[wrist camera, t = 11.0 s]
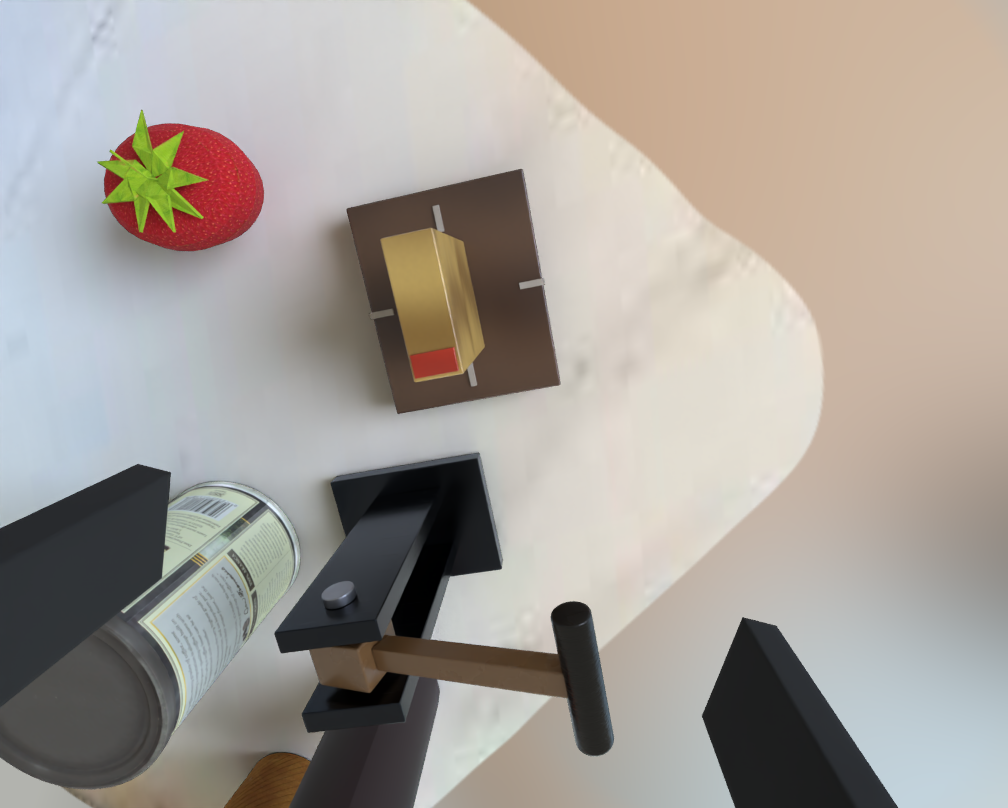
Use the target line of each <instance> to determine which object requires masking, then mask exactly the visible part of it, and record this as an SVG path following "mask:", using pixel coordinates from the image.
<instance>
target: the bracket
mask: <svg viewBox="0 0 1008 808" xmlns="http://www.w3.org/2000/svg"><path fill="white" fill-rule="evenodd" d="M331 487H332V490H333V494H334V497H335V501H336V504H337V508H338V511H339V515H340V518H341V522H342V525H343V529H344V532H345V535H346V538H345V540H344V541H343V542H342V544H341V545H340V546H339V548H338V549H337V550H336V552H335V553H334V554H333V556H332V557H331V558H330V560H329V561H328V562H327V564H326V565H325V566H324V568H323V569H322V570H321V572H320V573H319V574H318V576H317V577H316V578H315V580H314V581H313V582H312V584H311V585H310V586H309V588H308V589H307V590H306V592H305V593H304V594H303V596H302V597H301V598H300V600H299V601H298V602H297V604H296V605H295V606H294V608H293V609H292V610H291V612H290V613H289V614H288V616H287V617H286V618H285V620H284V621H283V622H282V624H281V625H280V626H279V628H278V629H277V630H276V632H275V637H276V640H277V643H278V646H279V649H280V652H281V653H288V652H295V651H303V650H311V649H319V648H327V647H335V646H343V645H351V644H358V643H366V642H374V641H381V640H382V638H383V636H384V634H385V632H386V629H387V627H388V625H389V623H390V620H391V621H392V625H393V628H394V632H395V635H396V636H402V637H411V638H420V639H428V640H430V639H431V636H432V633H433V629H434V626H435V623H436V620H437V616H438V613H439V610H440V607H441V603H442V600H443V597H444V594H445V590H446V587H447V584H448V581H449V577H450V576H457V575H464V574H471V573H478V572H486V571H493V570H500V569H502V563H503V558H502V554H501V549H500V544H499V540H498V535H497V531H496V526H495V521H494V517H493V512H492V508H491V503H490V498H489V494H488V489H487V485H486V480H485V475H484V471H483V466H482V462H481V457H480V453H474V454H468V455H462V456H456V457H450V458H444V459H438V460H432V461H426V462H420V463H414V464H408V465H402V466H396V467H390V468H384V469H378V470H372V471H366V472H360V473H354V474H348V475H342V476H337V477H336V478H335V479H334V480H333V481H332V482H331ZM418 678H419V677H418V676H412V675H405V674H398V673H391V672H386V674H385V675H384V676H383V677H382V679H381V680H380V681H379V683H378V684H377V685H376V686H375V688H374V689H373V690H372V692H370V693H366V692H360V691H354V690H348V689H343V688H337V687H331V686H325V685H321V684H320V682H319V683H318V685H317V687H316V689H315V691H314V693H313V694H312V696H311V698H310V700H309V702H308V703H307V705H306V707H305V709H304V711H303V713H302V717H303V720H304V723H305V726H306V729H307V732H308V733H310V732H320V731H329V730H338V729H347V728H357V727H366V726H375V725H384V724H394V723H403V722H405V720H406V717H407V714H408V711H409V707H410V704H411V701H412V698H413V694H414V691H415V688H416V685H417V681H418Z"/></svg>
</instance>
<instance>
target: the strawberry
mask: <svg viewBox="0 0 1008 808" xmlns="http://www.w3.org/2000/svg"><path fill="white" fill-rule="evenodd" d="M110 152H111V153H112V154H113V155H112V156H111V158H110V161H98V163H99V164H100V165H102V166H103V167H105V168H106V172H105V178H104V192H105V196H106V199H105V200H104V201H103V202H102V203H103V204H108V206H109V208H110V210H111V212H112V214H113V215H114V217H115V218H116V219H117V221H118V222H119V223H120V224H121V225H122V226H123V227H124V228H125V229H126V230H127V231H128V232H130V233H131V234H133V235H135V236H136V237H138V238H140V239H142V240H144V241H147V242H150V243H152V244H155V245H158V246H161V247H163V248H167V249H172V250H177V251H196V250H203V249H207V248H210V247H213V246H216V245H219V244H222V243H225V242H228V241H231V240H233V239H235V238H237V237H239V236H240V235H242V234H243V233H244V232H246V231H247V230H248V229H249V228H250V227H251V226H252V225H253V223H254V222H255V221H256V219H257V217H258V215H259V213H260V212H261V208H262V205H263V199H264V189H263V183H262V179H261V177H260V175H259V172H258V170H257V169H256V168H255V166H254V165H253V163H252V162H251V161H250V160H249V158H248V157H247V156H246V155H245V154H244V153H243V151H242V150H241V149H240V148H239V147H238V146H236V145H235V144H234V143H233V142H232V141H231V140H229V139H228V138H226V137H225V136H223V135H221V134H220V133H217V132H215V131H212V130H209V129H206V128H200V127H194V126H189V125H183V124H160V125H154V126H150V127H147V126H146V122H145V118H144V114H143V110H141V112H140V116H139V120H138V124H137V128H136V132H135V133H134V134H133V135H131V136H130V137H128V138H127V139H126V140H125V141H124V142H123V143H121V144H120V145H119V146H118V148H117V149H116V150H115V152H114V151H112V150H110Z"/></svg>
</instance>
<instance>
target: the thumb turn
mask: <svg viewBox="0 0 1008 808" xmlns="http://www.w3.org/2000/svg"><path fill="white" fill-rule="evenodd" d="M380 241H381V245H382V250H383V254H384V258H385V262H386V266H387V270H388V275H389V279H390V283H391V287H392V291H393V296H394V300H395V304H396V308H397V312H398V316H399V321H400V325H401V329H402V333H403V337H404V341H405V346H406V350H407V354H408V358H409V362H410V367H411V371H412V375H413V379H414V382H421V381H426V380H432V379H437V378H443V377H448V376H454V375H459V374H463V373H464V372H465V371H466V370H467V368H468V367H469V366H470V365H471V363H472V362H473V361H474V360H475V358H476V357H477V356H478V355H479V353H480V352H481V351H482V350H483V349H484V347H485V344H484V340H483V335H482V330H481V325H480V320H479V315H478V310H477V306H476V301H475V296H474V291H473V286H472V281H471V276H470V271H469V267H468V262H467V257H466V252H465V247H464V242H463V241H461V240H459V239H456V238H454V237H452V236H449V235H447V234H445V233H442V232H440V231H438V230H436V229H433V228H427V229H423V230H418V231H413V232H409V233H404V234H400V235H395V236H390V237H386V238H382V239H381V240H380Z"/></svg>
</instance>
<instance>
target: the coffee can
mask: <svg viewBox="0 0 1008 808" xmlns="http://www.w3.org/2000/svg"><path fill="white" fill-rule="evenodd" d="M299 565H300V547H299V542H298V538H297V535H296V533H295V530H294V528H293V525H292V524H291V523H290V521H289V520H288V518H287V516H286V515H285V514H284V513H283V511H282V510H281V509H280V508H279V506H278V505H276V504H275V503H274V502H273V501H272V500H271V499H269V498H268V497H267V496H265V495H264V494H262V493H260V492H259V491H257V490H255V489H253V488H250V487H247V486H244V485H241V484H238V483H232V482H223V481H216V482H208V483H203V484H198V485H196V486H194V487H192V488H190V489H188V490H186V491H184V492H183V493H182V494H180V495H179V496H178V497H177V498H175V499H173V500H172V501H170V502H169V503H168V512H167V524H166V536H165V548H164V560H163V572H162V579H160V580H159V581H158V582H157V583H155V584H154V585H153V586H152V587H150V588H149V589H148V590H147V591H145V592H144V593H143V594H142V595H140V596H139V597H138V598H137V599H135V600H134V601H133V602H132V603H130V604H129V605H128V606H127V607H125V608H124V609H123V610H122V611H120V612H119V613H118V614H117V615H115V616H114V617H113V618H112V619H110V620H109V621H108V622H107V623H105V624H104V625H103V626H102V627H100V628H99V629H98V630H97V631H95V632H94V633H93V634H92V635H90V636H89V637H88V638H87V639H85V640H84V641H83V642H82V643H80V644H79V645H78V646H77V647H75V648H74V649H73V650H72V651H70V652H69V653H68V654H67V655H65V656H64V657H63V658H62V659H60V660H59V661H58V662H57V663H55V664H54V665H53V666H52V667H50V668H49V669H48V670H47V671H45V672H44V673H43V674H42V675H40V676H39V677H38V678H37V679H35V680H34V681H33V682H32V683H30V684H29V685H28V686H26V687H25V688H24V689H23V690H21V691H20V692H19V693H18V694H16V695H15V696H14V697H13V698H11V699H10V700H9V701H8V702H6V703H5V704H4V705H3V706H1V707H0V758H2V759H3V760H5V761H6V762H8V763H9V764H11V765H12V766H14V767H16V768H17V769H19V770H21V771H22V772H24V773H26V774H28V775H30V776H32V777H34V778H37V779H40V780H42V781H45V782H48V783H51V784H55V785H58V786H62V787H67V788H74V789H101V788H108V787H113V786H117V785H120V784H123V783H125V782H128V781H130V780H132V779H134V778H135V777H137V776H139V775H140V774H142V773H143V772H144V771H145V770H147V769H148V768H149V767H150V766H151V765H152V764H153V763H154V761H155V760H156V759H157V758H158V756H159V755H160V754H161V752H162V751H163V749H164V748H165V746H166V744H167V743H168V741H169V739H170V737H171V736H172V734H173V733H174V732H175V731H176V729H177V728H178V727H179V726H180V724H181V723H182V722H183V721H184V719H185V718H186V717H187V715H188V714H189V713H190V712H191V710H192V709H193V708H194V707H195V705H196V704H197V703H198V702H199V700H200V699H201V698H202V697H203V695H204V694H205V693H206V692H207V690H208V689H209V688H210V686H211V685H212V684H213V683H214V681H215V680H216V679H217V678H218V676H219V675H220V674H221V673H222V671H223V670H224V669H225V668H226V666H227V665H228V664H229V663H230V661H231V660H232V659H233V657H234V656H235V655H236V654H237V652H238V651H239V650H240V649H241V648H242V646H243V645H244V644H245V642H246V641H247V640H248V639H249V637H250V636H251V635H252V633H253V632H254V631H255V630H256V628H257V627H258V626H259V625H260V623H261V622H262V621H263V620H264V618H265V617H266V616H267V614H268V613H269V612H270V611H271V609H272V608H273V607H274V606H275V604H276V603H277V602H278V601H279V599H280V598H281V597H282V596H283V595H284V594H285V593H286V592H287V591H288V590H289V589H290V587H291V586H292V584H293V583H294V581H295V579H296V577H297V574H298V569H299Z"/></svg>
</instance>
